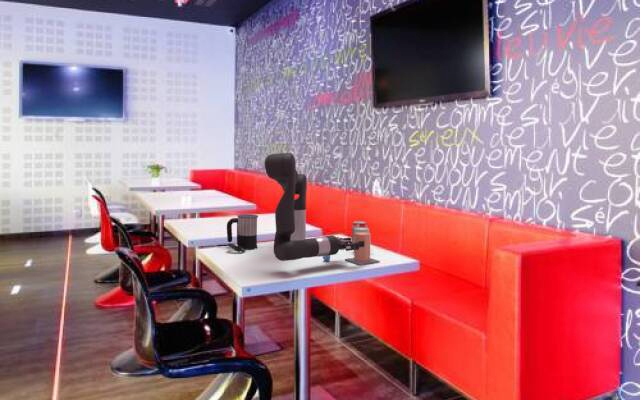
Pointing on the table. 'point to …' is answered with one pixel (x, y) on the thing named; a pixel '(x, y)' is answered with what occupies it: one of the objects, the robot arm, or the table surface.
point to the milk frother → (243, 232)
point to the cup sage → (360, 230)
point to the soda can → (357, 224)
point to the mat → (362, 262)
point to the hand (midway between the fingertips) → (357, 241)
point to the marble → (326, 258)
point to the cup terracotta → (363, 252)
